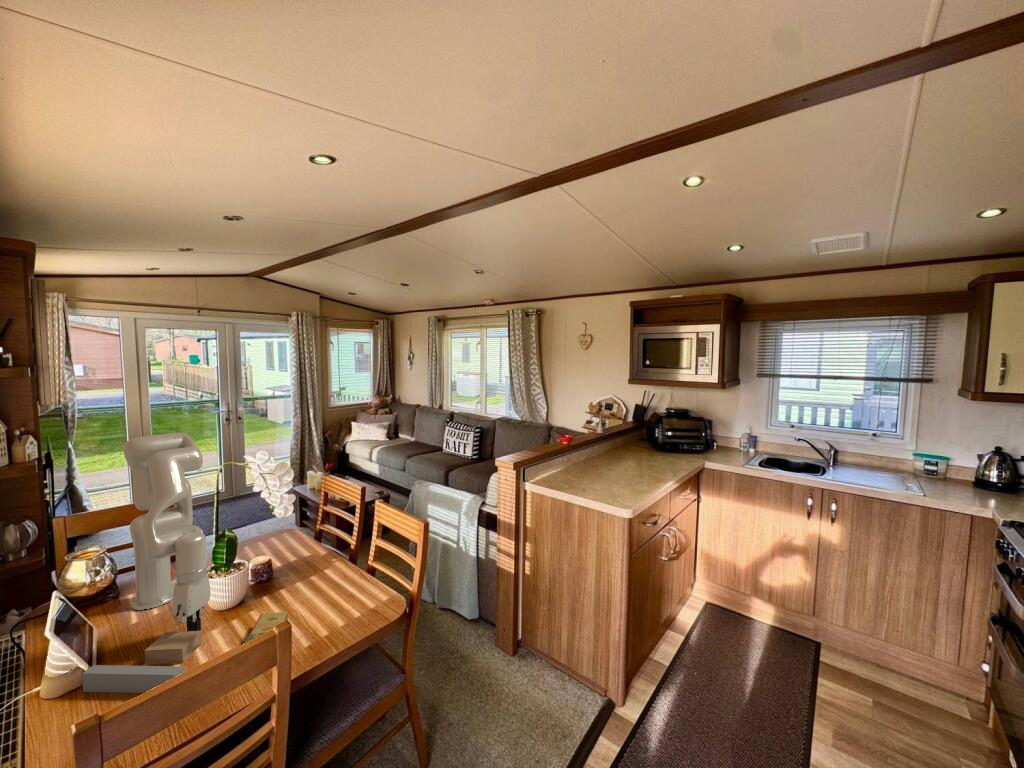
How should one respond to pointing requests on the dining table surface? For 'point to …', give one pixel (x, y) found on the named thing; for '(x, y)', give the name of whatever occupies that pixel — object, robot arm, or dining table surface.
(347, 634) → the dining table surface
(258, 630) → the carton
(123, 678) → the board
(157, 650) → the walnut block
